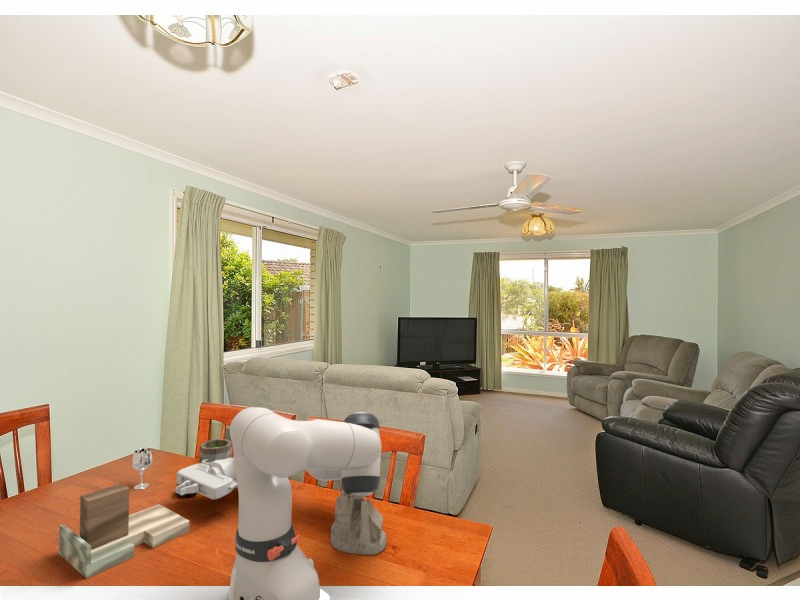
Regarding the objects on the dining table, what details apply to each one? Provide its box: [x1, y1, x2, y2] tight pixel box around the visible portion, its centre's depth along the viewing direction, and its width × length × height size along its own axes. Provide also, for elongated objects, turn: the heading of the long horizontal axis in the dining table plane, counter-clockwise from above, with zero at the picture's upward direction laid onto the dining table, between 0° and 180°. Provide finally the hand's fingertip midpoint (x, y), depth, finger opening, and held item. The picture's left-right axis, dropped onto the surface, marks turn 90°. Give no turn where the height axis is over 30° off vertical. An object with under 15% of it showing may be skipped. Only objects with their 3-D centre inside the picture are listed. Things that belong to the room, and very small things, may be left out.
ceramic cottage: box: [329, 489, 387, 556], centre depth 115 cm, size 16×16×15 cm
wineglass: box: [131, 447, 153, 490], centre depth 143 cm, size 6×6×12 cm
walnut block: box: [79, 483, 130, 550], centre depth 106 cm, size 4×9×12 cm, turn 146°
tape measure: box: [175, 482, 198, 497], centre depth 138 cm, size 7×7×4 cm
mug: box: [198, 438, 233, 464], centre depth 153 cm, size 16×11×12 cm
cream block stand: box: [58, 503, 190, 580], centre depth 110 cm, size 16×24×7 cm, turn 146°
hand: (178, 491), depth 121 cm, fingers closed
